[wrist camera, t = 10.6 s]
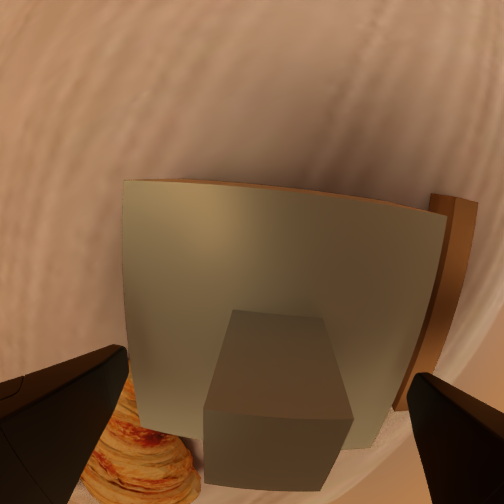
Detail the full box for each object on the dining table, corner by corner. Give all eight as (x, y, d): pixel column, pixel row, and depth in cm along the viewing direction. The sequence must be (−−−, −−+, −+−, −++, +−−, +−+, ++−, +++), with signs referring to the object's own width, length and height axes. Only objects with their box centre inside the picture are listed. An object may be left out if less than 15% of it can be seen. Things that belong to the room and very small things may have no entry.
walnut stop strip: (402, 385, 16) (415, 409, 14) (383, 386, 16) (394, 411, 14) (452, 198, 14) (478, 202, 11) (431, 193, 14) (455, 196, 11)
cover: (347, 374, 16) (392, 526, 6) (176, 358, 17) (103, 502, 7) (384, 200, 14) (546, 247, 4) (179, 178, 14) (19, 188, 4)
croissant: (122, 315, 20) (25, 343, 14) (232, 382, 16) (119, 457, 9) (136, 473, 25) (84, 503, 18) (205, 525, 20) (154, 567, 14)
